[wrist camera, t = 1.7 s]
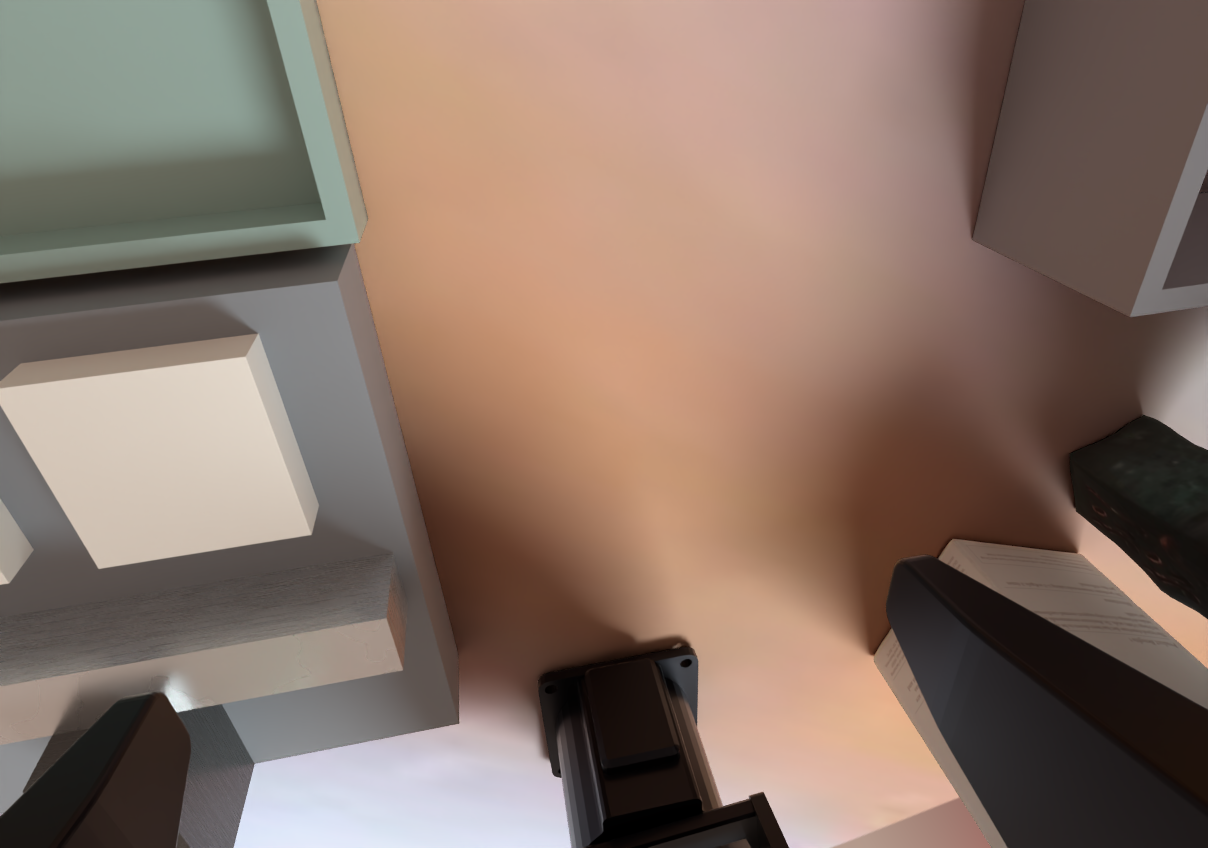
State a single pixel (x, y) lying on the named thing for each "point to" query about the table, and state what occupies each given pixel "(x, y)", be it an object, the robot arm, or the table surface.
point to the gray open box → (1106, 152)
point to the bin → (168, 135)
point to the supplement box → (1066, 599)
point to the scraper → (200, 665)
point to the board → (327, 445)
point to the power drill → (1150, 503)
